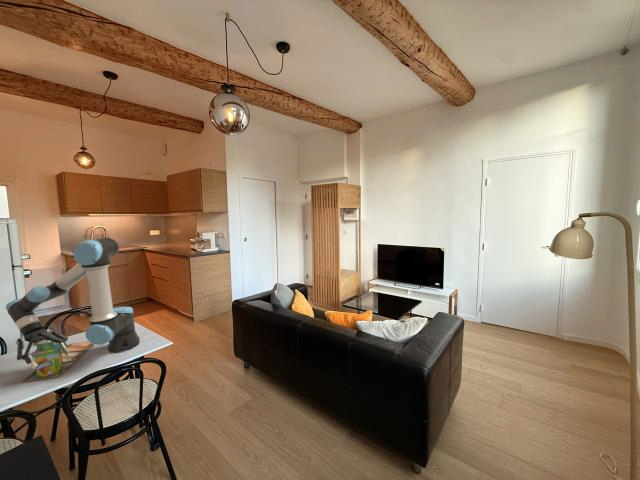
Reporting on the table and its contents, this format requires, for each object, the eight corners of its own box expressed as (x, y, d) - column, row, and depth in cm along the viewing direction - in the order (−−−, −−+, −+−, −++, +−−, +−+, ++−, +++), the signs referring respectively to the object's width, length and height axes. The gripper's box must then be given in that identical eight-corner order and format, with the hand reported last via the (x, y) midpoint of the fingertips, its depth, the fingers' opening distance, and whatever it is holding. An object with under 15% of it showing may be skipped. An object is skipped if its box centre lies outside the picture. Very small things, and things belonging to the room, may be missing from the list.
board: (58, 377, 131) (58, 375, 131) (21, 382, 127) (21, 380, 127) (97, 341, 164) (97, 340, 164) (69, 345, 161) (69, 343, 161)
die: (53, 354, 151) (51, 342, 150) (38, 356, 150) (36, 344, 149) (61, 347, 158) (60, 336, 157) (47, 349, 156) (45, 337, 155)
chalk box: (37, 379, 129) (32, 350, 127) (38, 371, 136) (33, 343, 134) (63, 371, 136) (59, 343, 134) (63, 363, 142) (59, 337, 140)
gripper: (57, 320, 150) (78, 351, 147) (-7, 341, 128) (16, 378, 124) (61, 312, 147) (83, 344, 144) (-3, 332, 125) (21, 370, 122)
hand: (52, 360), depth 134 cm, fingers closed on chalk box, 12 cm apart
